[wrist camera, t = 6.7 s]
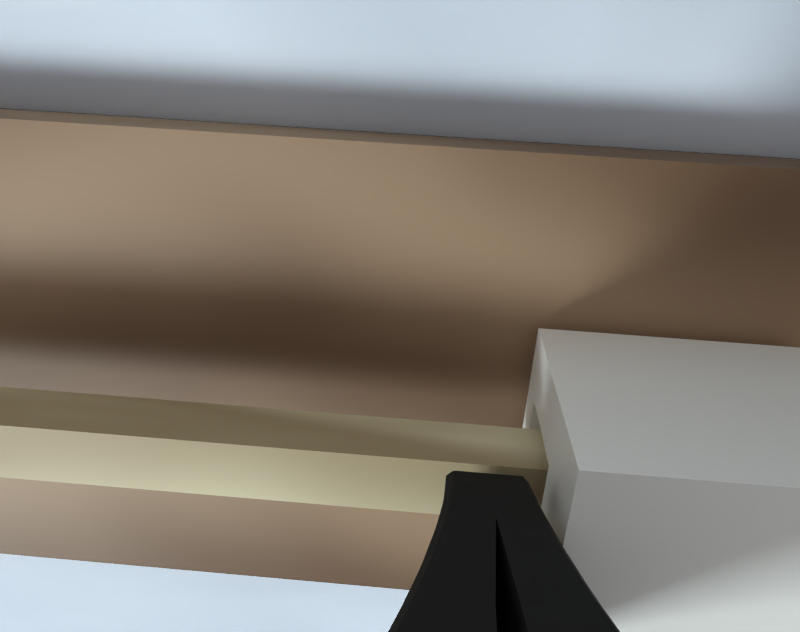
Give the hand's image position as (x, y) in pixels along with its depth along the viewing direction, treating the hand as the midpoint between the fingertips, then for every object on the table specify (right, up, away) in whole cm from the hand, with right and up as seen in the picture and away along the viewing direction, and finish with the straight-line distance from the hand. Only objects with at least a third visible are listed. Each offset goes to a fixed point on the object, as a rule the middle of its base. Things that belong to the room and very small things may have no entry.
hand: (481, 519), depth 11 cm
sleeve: (+4, +1, +3) cm, 5 cm away
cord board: (-2, +2, +4) cm, 5 cm away
